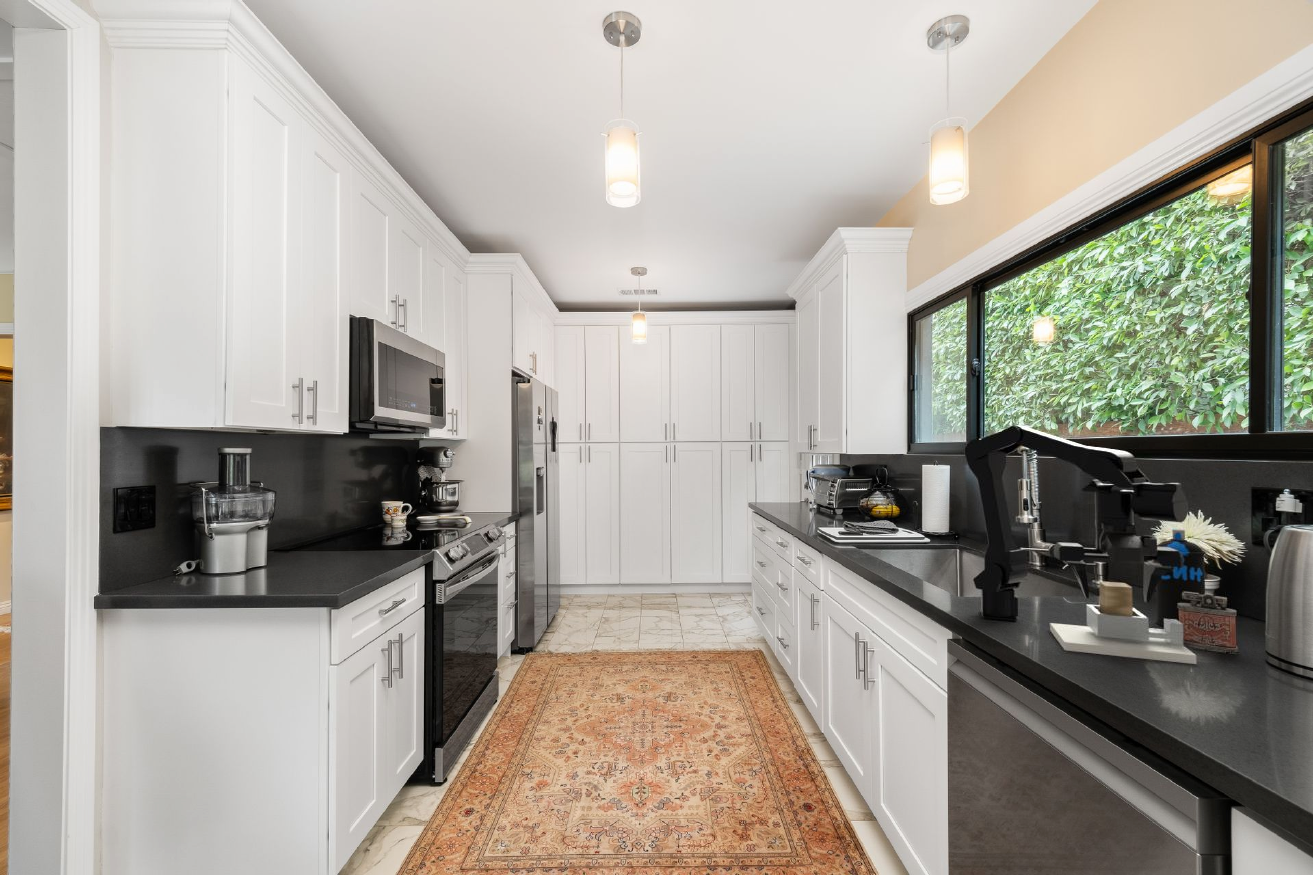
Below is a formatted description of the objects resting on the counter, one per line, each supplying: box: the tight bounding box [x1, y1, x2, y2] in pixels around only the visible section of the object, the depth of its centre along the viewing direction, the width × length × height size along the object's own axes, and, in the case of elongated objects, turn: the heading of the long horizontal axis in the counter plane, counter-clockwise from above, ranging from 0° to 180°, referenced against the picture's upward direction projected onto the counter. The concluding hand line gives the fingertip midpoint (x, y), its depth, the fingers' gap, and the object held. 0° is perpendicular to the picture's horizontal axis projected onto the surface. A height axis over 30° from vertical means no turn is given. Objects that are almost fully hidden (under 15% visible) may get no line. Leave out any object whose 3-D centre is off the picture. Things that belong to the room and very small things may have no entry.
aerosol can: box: [1155, 528, 1207, 627], centre depth 124 cm, size 8×8×20 cm
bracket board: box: [1049, 622, 1197, 665], centre depth 112 cm, size 19×13×2 cm
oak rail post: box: [1098, 581, 1134, 616], centre depth 112 cm, size 4×4×8 cm
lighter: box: [1178, 592, 1239, 654], centre depth 111 cm, size 8×3×10 cm, turn 47°
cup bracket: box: [1086, 604, 1184, 646], centre depth 111 cm, size 13×8×5 cm, turn 67°
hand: (1116, 600), depth 112 cm, fingers open, 9 cm apart
